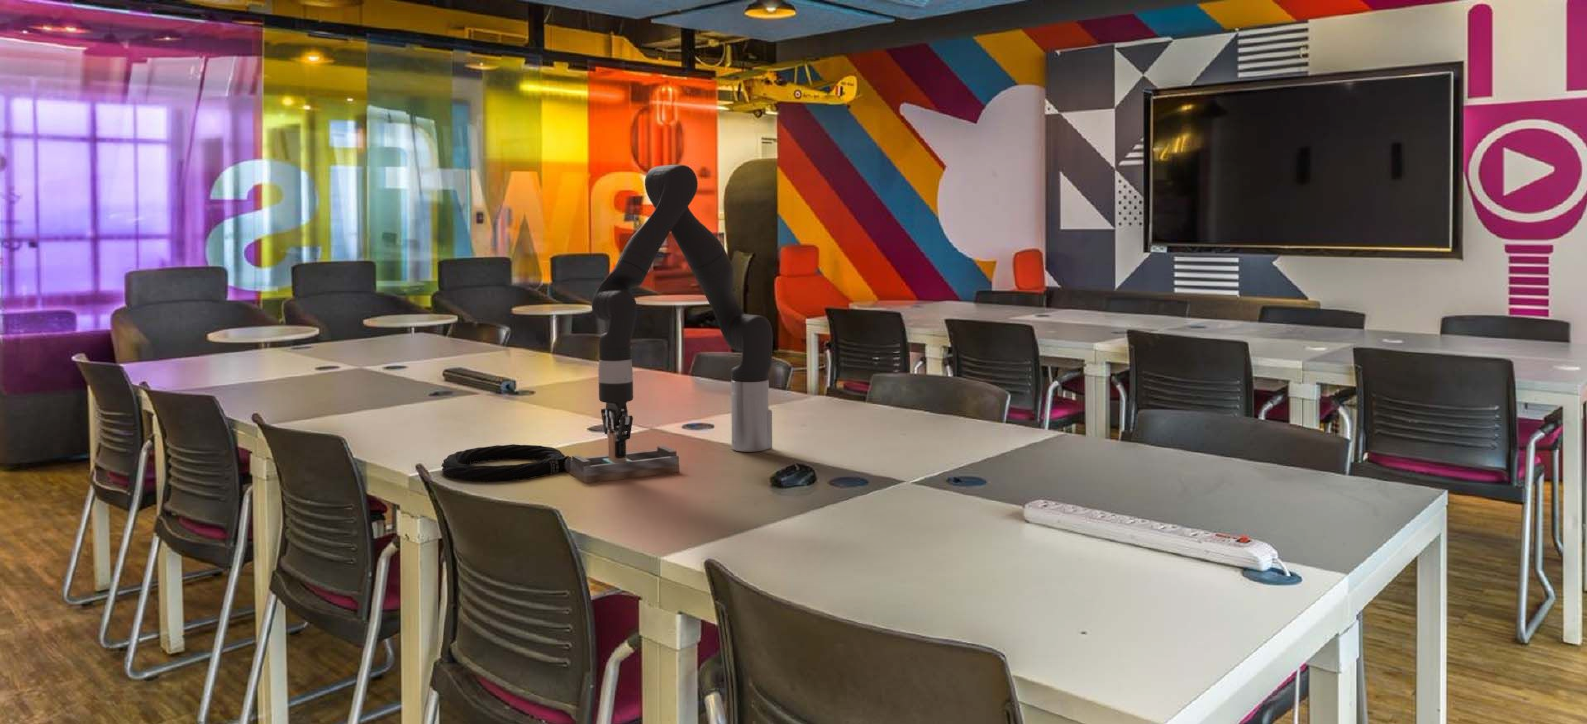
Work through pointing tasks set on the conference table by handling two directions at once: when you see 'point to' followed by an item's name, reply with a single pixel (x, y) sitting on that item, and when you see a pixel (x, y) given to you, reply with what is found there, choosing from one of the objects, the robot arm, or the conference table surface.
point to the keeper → (612, 451)
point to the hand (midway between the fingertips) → (617, 455)
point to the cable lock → (549, 464)
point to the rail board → (625, 465)
